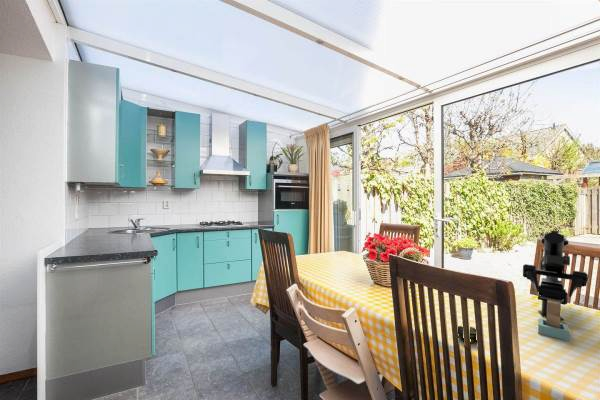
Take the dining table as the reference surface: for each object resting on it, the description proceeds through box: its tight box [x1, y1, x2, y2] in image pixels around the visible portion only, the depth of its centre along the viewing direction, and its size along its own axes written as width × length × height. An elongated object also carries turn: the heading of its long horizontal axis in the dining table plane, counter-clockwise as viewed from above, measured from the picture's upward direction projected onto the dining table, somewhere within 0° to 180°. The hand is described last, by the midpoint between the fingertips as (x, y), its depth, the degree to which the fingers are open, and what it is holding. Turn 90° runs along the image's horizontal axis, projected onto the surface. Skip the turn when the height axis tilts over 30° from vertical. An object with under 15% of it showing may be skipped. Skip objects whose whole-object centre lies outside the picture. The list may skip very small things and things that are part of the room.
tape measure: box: [458, 325, 478, 344], centre depth 97 cm, size 7×7×4 cm
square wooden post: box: [545, 300, 562, 329], centre depth 105 cm, size 4×4×11 cm
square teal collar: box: [537, 317, 570, 342], centre depth 105 cm, size 8×8×3 cm
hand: (553, 293), depth 110 cm, fingers open, 9 cm apart
